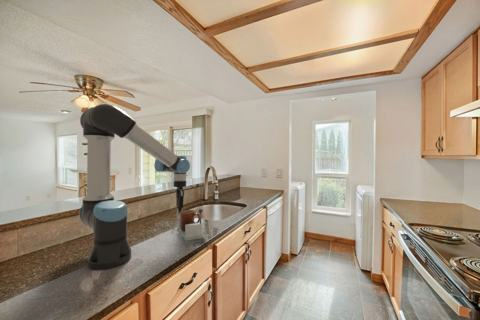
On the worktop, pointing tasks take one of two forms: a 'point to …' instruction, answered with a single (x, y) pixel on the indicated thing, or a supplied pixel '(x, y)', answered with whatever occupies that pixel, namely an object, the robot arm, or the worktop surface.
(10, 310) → the worktop surface
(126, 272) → the worktop surface
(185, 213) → the mug
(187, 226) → the vise
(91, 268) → the robot arm
